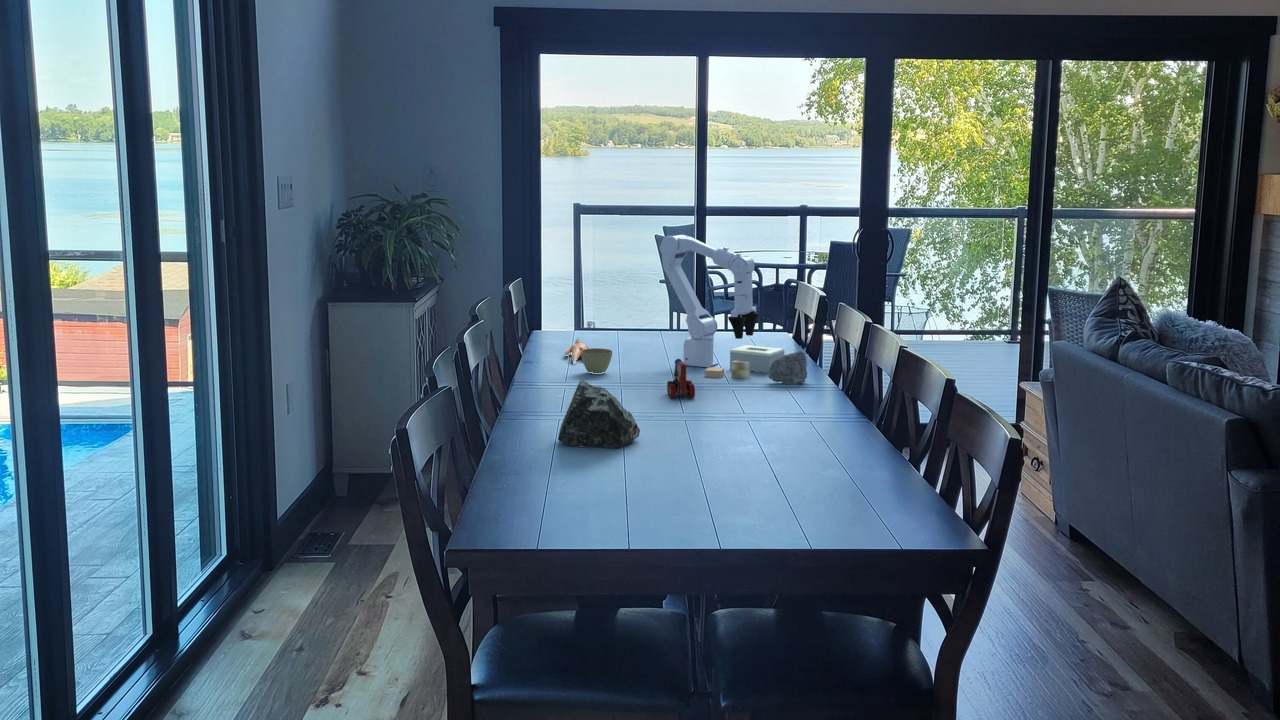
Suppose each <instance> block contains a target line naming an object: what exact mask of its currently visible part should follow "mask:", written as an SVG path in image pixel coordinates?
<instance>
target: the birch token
mask: <svg viewBox="0 0 1280 720" xmlns="http://www.w3.org/2000/svg"><path fill="white" fill-rule="evenodd" d="M749 369H750V362H745V361H736V360H735V361H732V369H731V374H730V375H731V378H733V377H734V379H742V378H745V379H744V380H747V379H750V371H749ZM746 378H747V379H746Z"/></svg>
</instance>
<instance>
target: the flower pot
mask: <svg viewBox="0 0 1280 720" xmlns="http://www.w3.org/2000/svg"><path fill="white" fill-rule="evenodd" d="M589 348H590V349H583V350H581V357H580V358H581V360H582V363H583V366H584V367H585V370H586V371H588V372H593V373H602V372H605V371H607V370H608V367H609V366H610V364H611V360H612V358H613V357H612V356H613V350H611V349H608V348H602V347H599V348H598V347H595V348H594V347H593V348H592V347H589ZM588 372H587V373H588ZM605 373H606V372H605Z"/></svg>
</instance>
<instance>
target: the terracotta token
mask: <svg viewBox="0 0 1280 720" xmlns="http://www.w3.org/2000/svg"><path fill="white" fill-rule="evenodd" d="M724 375H725V368H724V367H712V366H710V367H706V369H705V370H704V377H705V378H719V379H721V378H722V377H724Z"/></svg>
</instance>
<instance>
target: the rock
mask: <svg viewBox="0 0 1280 720" xmlns="http://www.w3.org/2000/svg"><path fill="white" fill-rule="evenodd" d="M807 362H808V361H807V357H806V355H805V354H804V352H803V351H802V350H799V351H794V352H791V353H788V354H784V356H782V357H780V358H777V359H776V360H774V361H773V362H772V364H771V367H770V368H769V370H768V373H767V374H768V378H769V379H770V380H771V381H772V382H774V383H780V382H781V383H783V384H786V383H793V384H796V383H797V384H802V383H805V382H806V379H807V377H808V371H807V366H808V363H807Z"/></svg>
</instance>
